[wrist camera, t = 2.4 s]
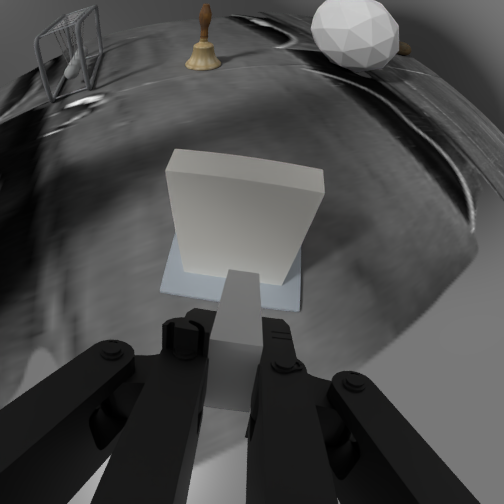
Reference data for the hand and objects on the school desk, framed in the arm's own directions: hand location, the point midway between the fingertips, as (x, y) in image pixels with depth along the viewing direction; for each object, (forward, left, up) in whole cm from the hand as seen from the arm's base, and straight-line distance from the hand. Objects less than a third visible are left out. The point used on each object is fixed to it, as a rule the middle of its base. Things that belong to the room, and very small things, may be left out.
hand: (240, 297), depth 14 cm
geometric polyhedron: (-26, +74, -14) cm, 80 cm away
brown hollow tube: (-27, +130, -14) cm, 133 cm away
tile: (-5, +6, -13) cm, 16 cm away
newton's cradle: (-72, +18, -14) cm, 75 cm away
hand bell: (-46, +39, -14) cm, 62 cm away
